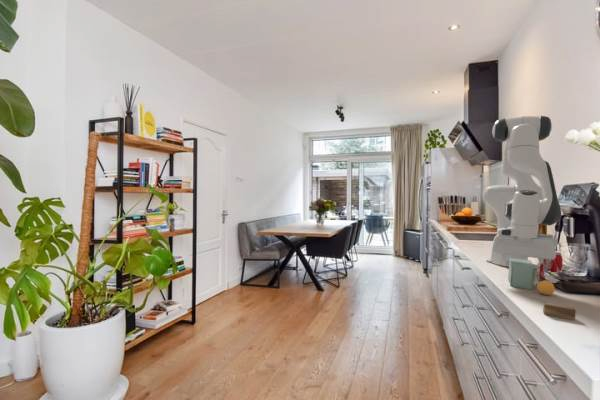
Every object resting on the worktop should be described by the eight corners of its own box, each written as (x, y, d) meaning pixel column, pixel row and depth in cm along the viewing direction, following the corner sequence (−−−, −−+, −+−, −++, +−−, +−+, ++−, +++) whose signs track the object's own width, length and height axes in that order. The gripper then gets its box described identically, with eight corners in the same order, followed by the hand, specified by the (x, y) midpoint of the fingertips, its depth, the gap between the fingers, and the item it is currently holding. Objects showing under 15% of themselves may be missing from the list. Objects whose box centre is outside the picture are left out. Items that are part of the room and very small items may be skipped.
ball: (536, 291, 115) (537, 277, 115) (553, 294, 113) (554, 280, 112) (536, 294, 111) (537, 280, 111) (554, 298, 109) (555, 283, 108)
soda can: (563, 285, 124) (565, 255, 123) (541, 282, 127) (543, 252, 126) (557, 280, 130) (560, 251, 130) (536, 278, 133) (538, 249, 133)
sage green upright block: (508, 279, 130) (509, 257, 130) (529, 282, 127) (530, 260, 126) (510, 286, 120) (512, 263, 120) (533, 289, 117) (534, 266, 117)
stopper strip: (543, 312, 95) (543, 302, 95) (573, 317, 92) (573, 307, 92) (544, 314, 94) (545, 304, 94) (574, 320, 90) (575, 309, 90)
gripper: (556, 234, 120) (553, 270, 120) (493, 228, 130) (490, 262, 130) (559, 236, 114) (556, 273, 115) (493, 230, 124) (491, 264, 125)
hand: (521, 267), depth 123 cm, fingers open, 8 cm apart
